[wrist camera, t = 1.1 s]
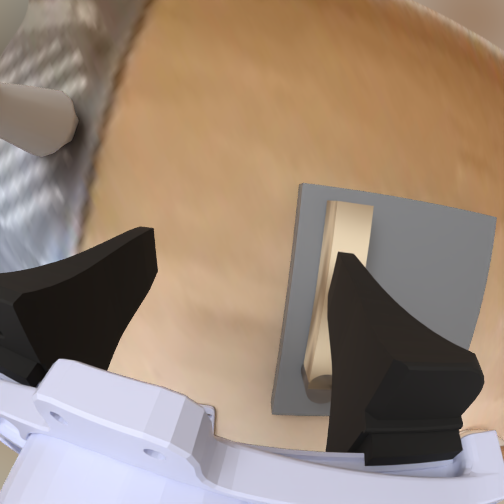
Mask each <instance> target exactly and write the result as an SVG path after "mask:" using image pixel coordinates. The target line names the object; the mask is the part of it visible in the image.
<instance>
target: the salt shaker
mask: <svg viewBox="0 0 504 504" xmlns="http://www.w3.org/2000/svg"><path fill="white" fill-rule="evenodd" d="M78 122H79V120H78V118H77V116H76V114H75V110H74V105H73V101H72V100H71V99H70V98H69V97H68V96H67V95H66V94H65V93H64V92H63V91H59V90H53V89H46V88H40V87H33V86H26V85H18V84H9V83H0V138H1V139H3V140H5V141H7V142H9V143H11V144H13V145H15V146H17V147H18V148H20V149H22V150H24V151H26V152H28V153H30V154H33V155H36V156H39V157H43V156H46V155H49V154H52V153H55V152H56V151H57V150H59V149H60V148H61V147H62V146H64V145H65V144H67V143H68V142H70V141H72V139H73V136H74V134H75V131H76V128H77V125H78Z"/></svg>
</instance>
